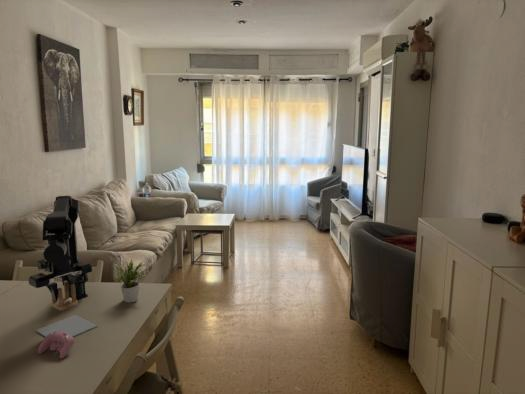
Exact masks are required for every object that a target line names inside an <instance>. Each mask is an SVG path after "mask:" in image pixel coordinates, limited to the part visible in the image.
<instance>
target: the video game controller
mask: <svg viewBox="0 0 525 394" xmlns="http://www.w3.org/2000/svg"><path fill="white" fill-rule="evenodd" d="M74 338H75V337H72V336H70V335H69V334H67V333H65V332H51V333H49V334H48V335H47V336H46V337H44V339H43V340H42V342H41V343H40V345H38V349H37V354H39V355H41V354H43V353H44V352H45V351H46V350H47V349H48V348H49V349H50V351H57V350H58V352H59V359H61V360H62V359H64V358H65V357H67V355H68V354H69V352H70V350H71V348H72V347H73V345H74V344H75V339H74ZM58 342H60V343H58Z"/></svg>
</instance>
